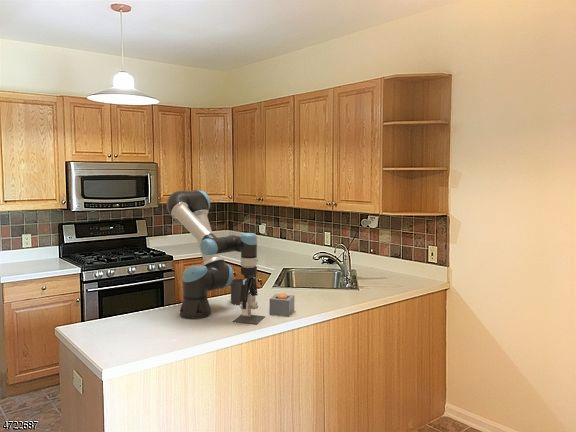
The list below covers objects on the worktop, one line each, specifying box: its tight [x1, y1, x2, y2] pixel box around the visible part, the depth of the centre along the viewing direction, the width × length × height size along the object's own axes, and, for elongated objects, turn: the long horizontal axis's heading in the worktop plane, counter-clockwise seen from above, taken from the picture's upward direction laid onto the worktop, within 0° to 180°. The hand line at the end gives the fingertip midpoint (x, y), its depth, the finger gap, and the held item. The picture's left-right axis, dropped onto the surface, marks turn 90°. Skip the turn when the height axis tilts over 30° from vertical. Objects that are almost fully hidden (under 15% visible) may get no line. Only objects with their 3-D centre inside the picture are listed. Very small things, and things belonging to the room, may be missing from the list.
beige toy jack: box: [239, 294, 259, 316], centre depth 233 cm, size 10×10×10 cm
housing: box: [269, 293, 296, 317], centre depth 245 cm, size 10×10×8 cm
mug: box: [230, 278, 251, 306], centre depth 264 cm, size 14×9×12 cm
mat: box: [232, 313, 266, 326], centre depth 234 cm, size 12×12×1 cm
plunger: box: [276, 293, 288, 299], centre depth 244 cm, size 5×5×2 cm
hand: (248, 312), depth 234 cm, fingers closed on beige toy jack, 10 cm apart
